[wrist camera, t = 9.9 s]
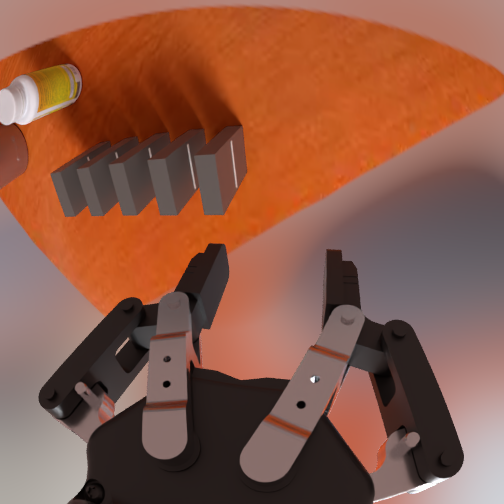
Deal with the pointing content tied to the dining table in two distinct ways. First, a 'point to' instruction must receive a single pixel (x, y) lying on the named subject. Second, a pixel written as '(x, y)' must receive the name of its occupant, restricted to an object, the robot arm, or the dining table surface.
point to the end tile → (74, 181)
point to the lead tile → (221, 169)
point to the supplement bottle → (39, 94)
